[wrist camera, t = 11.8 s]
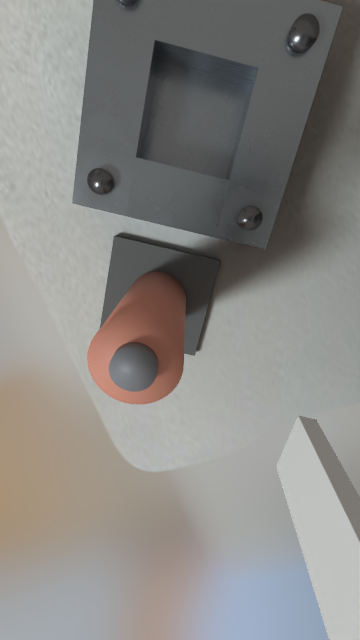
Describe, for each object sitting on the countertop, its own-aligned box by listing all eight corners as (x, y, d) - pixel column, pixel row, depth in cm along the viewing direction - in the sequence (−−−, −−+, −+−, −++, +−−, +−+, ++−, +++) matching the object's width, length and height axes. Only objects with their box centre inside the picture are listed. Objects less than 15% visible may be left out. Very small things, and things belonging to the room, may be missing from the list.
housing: (316, 40, 22) (348, 0, 17) (254, 243, 27) (267, 250, 22) (116, -15, 21) (97, -73, 17) (89, 203, 26) (69, 203, 21)
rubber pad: (219, 260, 27) (220, 261, 26) (194, 352, 30) (194, 355, 29) (115, 235, 27) (114, 236, 26) (100, 332, 30) (99, 334, 29)
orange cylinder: (192, 278, 27) (193, 336, 15) (178, 331, 29) (171, 422, 17) (134, 265, 27) (89, 312, 15) (124, 319, 28) (76, 401, 16)
